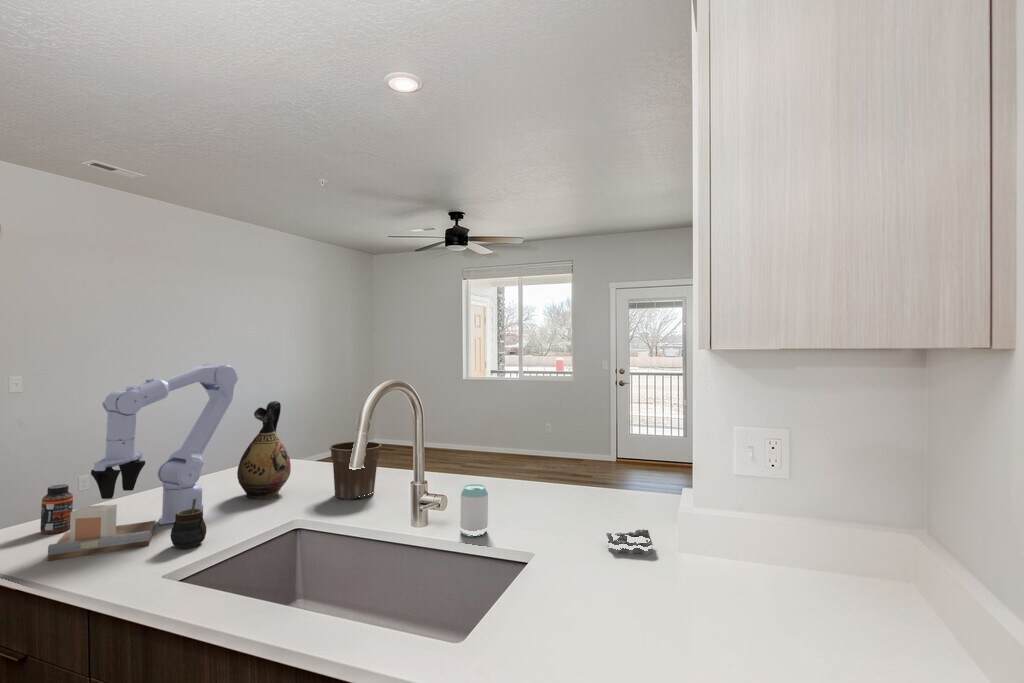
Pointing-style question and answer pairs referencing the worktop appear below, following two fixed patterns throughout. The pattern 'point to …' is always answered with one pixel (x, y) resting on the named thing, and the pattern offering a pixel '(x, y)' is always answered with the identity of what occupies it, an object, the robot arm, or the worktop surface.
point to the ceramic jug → (265, 458)
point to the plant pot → (354, 471)
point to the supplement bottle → (56, 510)
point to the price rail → (98, 542)
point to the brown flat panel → (119, 531)
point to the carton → (93, 522)
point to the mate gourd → (188, 528)
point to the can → (474, 508)
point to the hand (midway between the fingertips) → (117, 494)
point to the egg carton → (623, 540)
